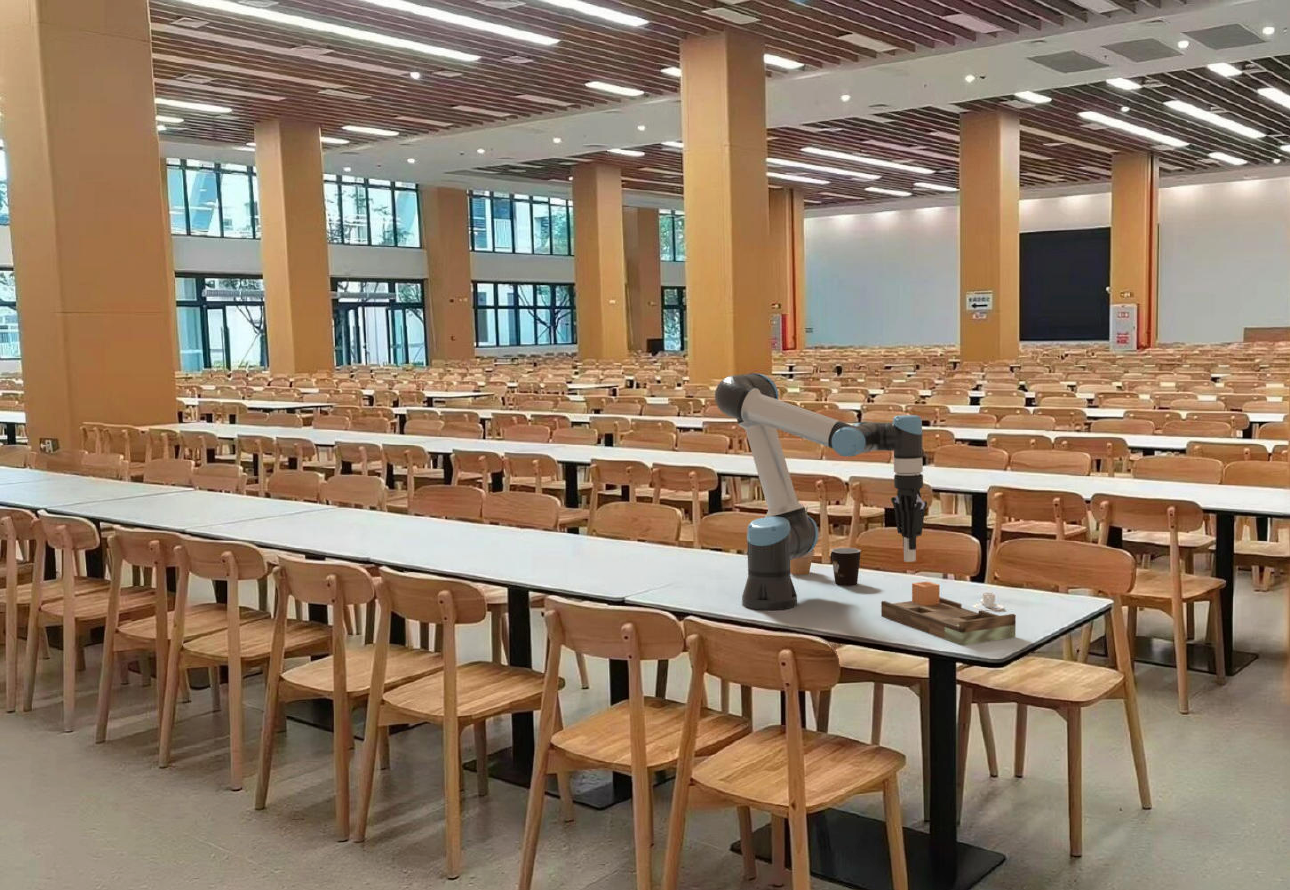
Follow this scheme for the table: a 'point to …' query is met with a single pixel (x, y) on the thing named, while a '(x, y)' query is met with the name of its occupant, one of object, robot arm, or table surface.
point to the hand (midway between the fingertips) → (909, 561)
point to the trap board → (951, 621)
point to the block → (925, 593)
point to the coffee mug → (845, 565)
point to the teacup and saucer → (988, 602)
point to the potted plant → (801, 561)
